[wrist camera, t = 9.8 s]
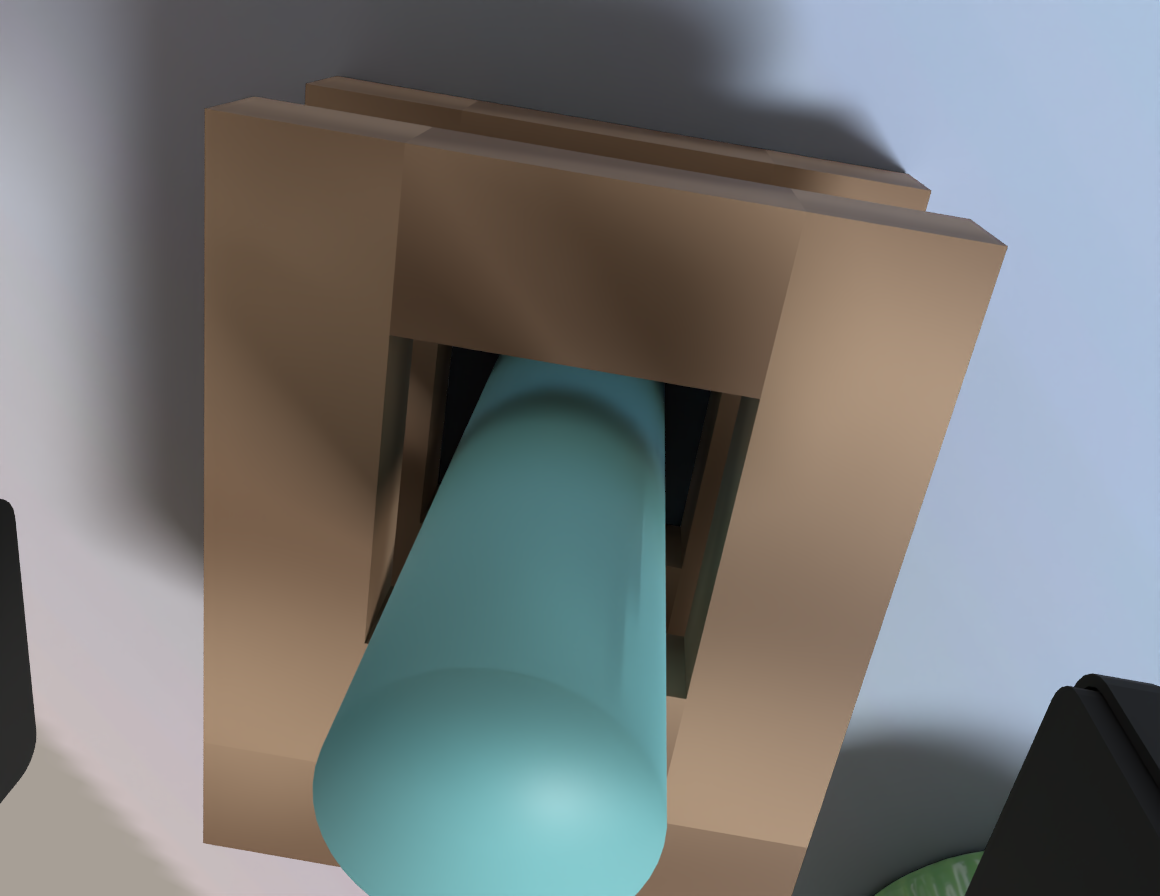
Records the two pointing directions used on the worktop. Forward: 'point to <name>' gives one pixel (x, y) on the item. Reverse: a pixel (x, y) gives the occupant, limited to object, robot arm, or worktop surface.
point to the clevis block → (584, 340)
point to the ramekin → (937, 878)
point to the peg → (518, 659)
